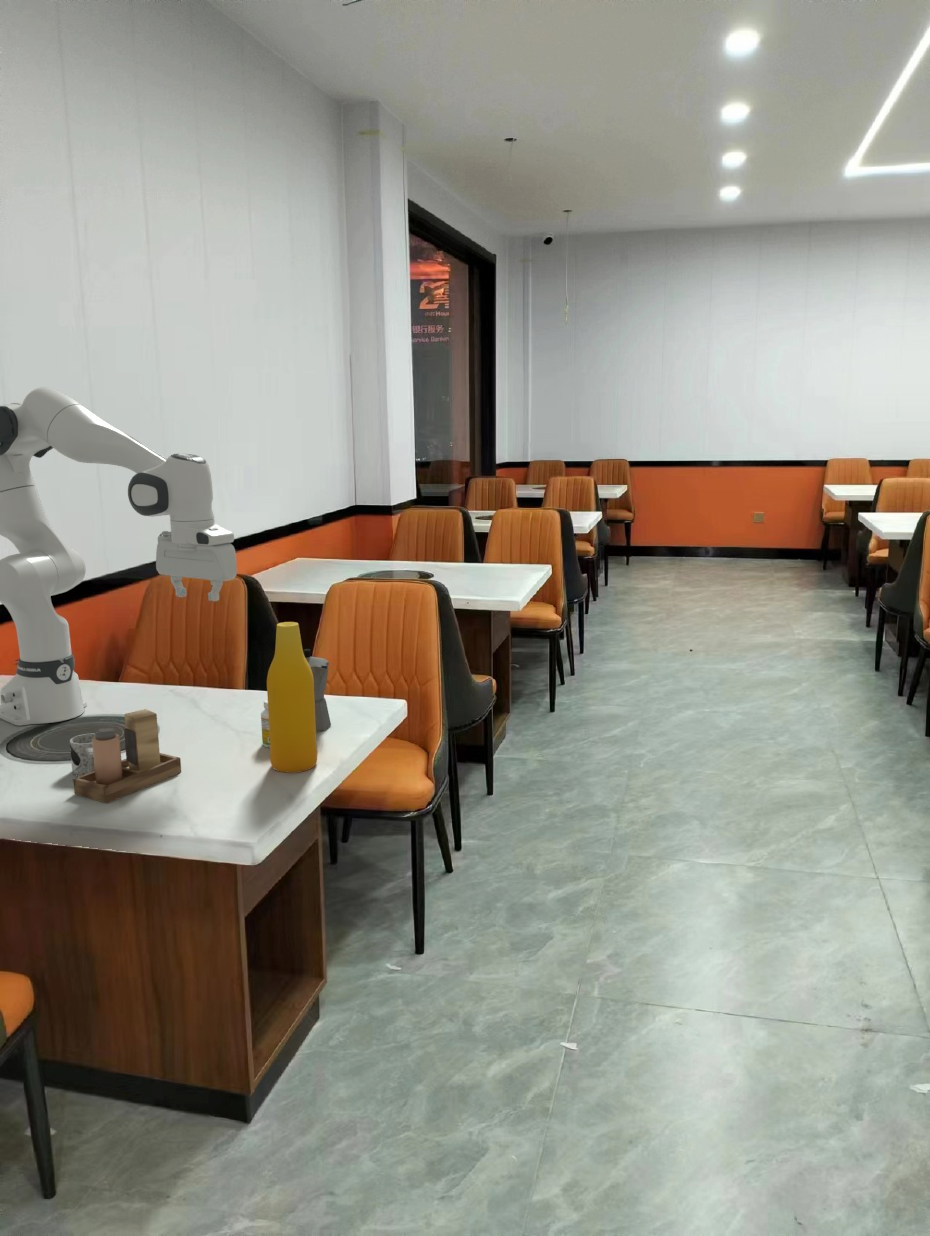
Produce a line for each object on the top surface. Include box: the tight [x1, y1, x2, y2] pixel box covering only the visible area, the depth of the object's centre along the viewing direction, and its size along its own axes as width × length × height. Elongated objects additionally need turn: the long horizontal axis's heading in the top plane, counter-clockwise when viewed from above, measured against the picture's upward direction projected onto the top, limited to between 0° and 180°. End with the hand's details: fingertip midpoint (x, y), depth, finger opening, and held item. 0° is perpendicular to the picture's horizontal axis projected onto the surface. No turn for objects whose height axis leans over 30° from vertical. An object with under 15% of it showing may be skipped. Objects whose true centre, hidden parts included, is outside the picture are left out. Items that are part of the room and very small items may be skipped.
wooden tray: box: [72, 752, 182, 804], centre depth 190 cm, size 9×18×3 cm, turn 149°
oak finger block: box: [123, 708, 161, 772], centre depth 192 cm, size 4×5×11 cm
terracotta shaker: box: [92, 727, 123, 786], centre depth 185 cm, size 5×5×10 cm
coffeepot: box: [303, 648, 332, 733], centre depth 222 cm, size 15×9×18 cm, turn 49°
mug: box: [69, 732, 95, 777], centre depth 195 cm, size 10×7×7 cm, turn 24°
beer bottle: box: [266, 621, 318, 773], centre depth 196 cm, size 9×9×29 cm
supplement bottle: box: [260, 698, 270, 748], centre depth 211 cm, size 5×5×10 cm
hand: (197, 598), depth 209 cm, fingers open, 8 cm apart
